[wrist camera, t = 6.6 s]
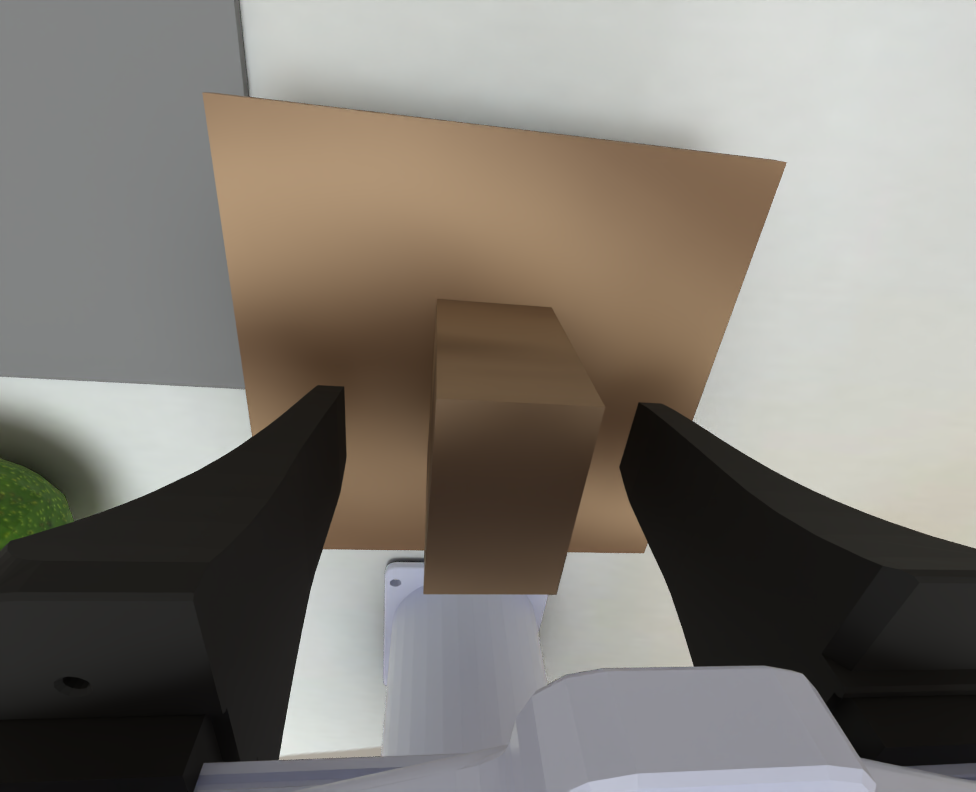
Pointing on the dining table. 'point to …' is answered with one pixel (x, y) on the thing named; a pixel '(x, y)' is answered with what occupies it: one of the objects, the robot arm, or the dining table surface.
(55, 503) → the avocado
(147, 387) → the dining table surface
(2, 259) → the mat
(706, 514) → the robot arm
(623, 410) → the cover board
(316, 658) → the dining table surface
